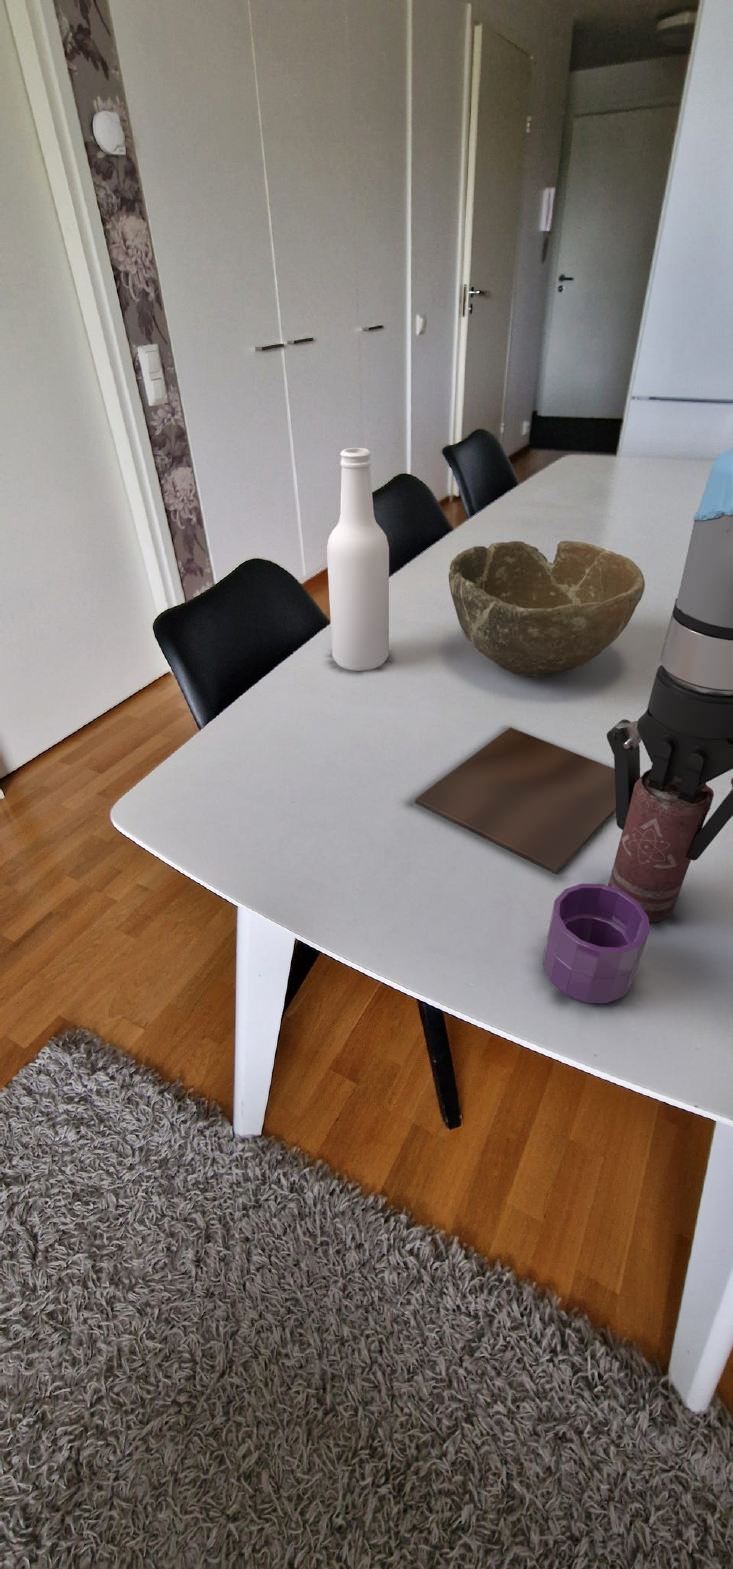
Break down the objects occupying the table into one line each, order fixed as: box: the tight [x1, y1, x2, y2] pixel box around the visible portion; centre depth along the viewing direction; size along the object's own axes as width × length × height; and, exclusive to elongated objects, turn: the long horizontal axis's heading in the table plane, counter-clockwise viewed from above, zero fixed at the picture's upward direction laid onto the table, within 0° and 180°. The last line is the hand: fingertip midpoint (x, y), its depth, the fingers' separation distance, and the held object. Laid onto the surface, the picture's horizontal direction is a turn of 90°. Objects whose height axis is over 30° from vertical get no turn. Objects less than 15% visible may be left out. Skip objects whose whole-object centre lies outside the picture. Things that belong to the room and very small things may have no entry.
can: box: [607, 768, 715, 923], centre depth 63 cm, size 6×6×14 cm
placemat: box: [414, 727, 616, 875], centre depth 81 cm, size 18×20×1 cm
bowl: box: [447, 540, 646, 678], centre depth 103 cm, size 28×27×15 cm
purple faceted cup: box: [542, 883, 650, 1004], centre depth 59 cm, size 7×8×7 cm
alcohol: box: [326, 447, 390, 672], centre depth 101 cm, size 9×9×30 cm
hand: (642, 894), depth 67 cm, fingers closed
